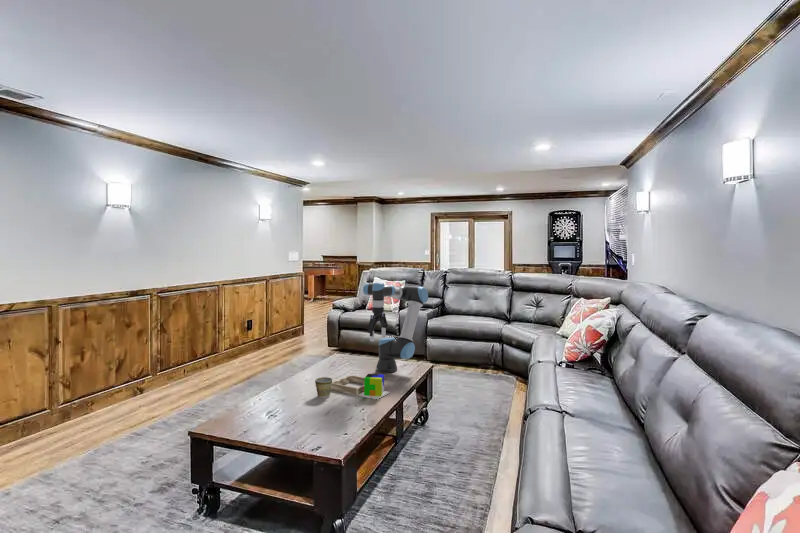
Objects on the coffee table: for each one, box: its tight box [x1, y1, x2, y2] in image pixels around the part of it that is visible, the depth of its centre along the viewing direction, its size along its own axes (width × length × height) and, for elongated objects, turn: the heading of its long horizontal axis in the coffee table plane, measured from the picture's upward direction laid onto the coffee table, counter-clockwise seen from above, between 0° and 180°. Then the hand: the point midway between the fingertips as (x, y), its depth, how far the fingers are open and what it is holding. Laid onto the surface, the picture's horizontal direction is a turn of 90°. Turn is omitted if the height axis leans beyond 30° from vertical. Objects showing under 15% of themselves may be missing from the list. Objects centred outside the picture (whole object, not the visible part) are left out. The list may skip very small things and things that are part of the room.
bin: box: [331, 374, 365, 396], centre depth 271 cm, size 21×21×4 cm
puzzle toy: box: [363, 373, 385, 396], centre depth 258 cm, size 10×10×10 cm
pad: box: [358, 390, 390, 400], centre depth 258 cm, size 13×13×1 cm
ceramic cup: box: [314, 376, 333, 399], centre depth 256 cm, size 13×10×10 cm
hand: (377, 339), depth 280 cm, fingers open, 13 cm apart
